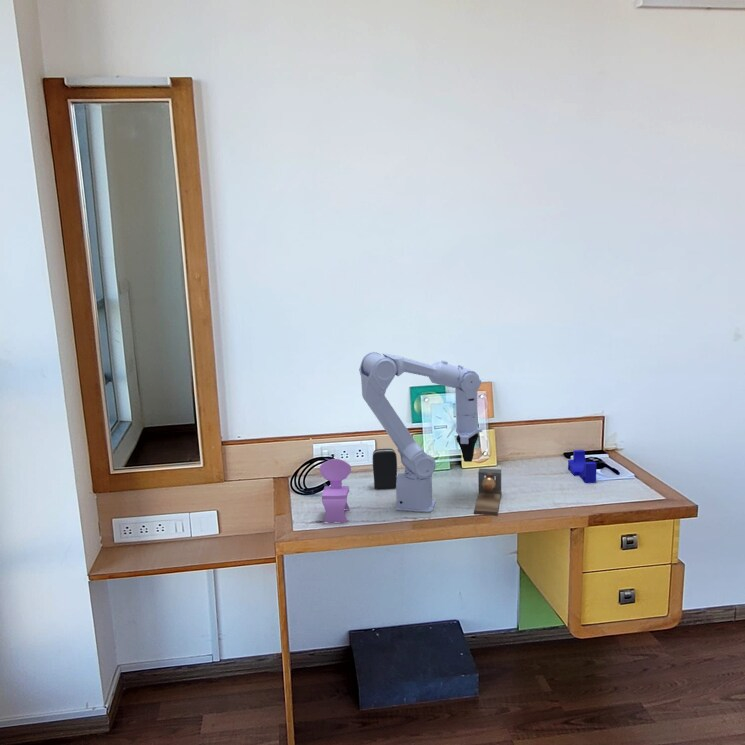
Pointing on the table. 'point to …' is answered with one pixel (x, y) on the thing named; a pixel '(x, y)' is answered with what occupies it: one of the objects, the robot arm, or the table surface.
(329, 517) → the toy chair
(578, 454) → the blue stepped block
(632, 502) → the table surface
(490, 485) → the light bulb
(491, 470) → the housing
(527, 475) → the table surface
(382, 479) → the battery
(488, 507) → the board
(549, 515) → the table surface
